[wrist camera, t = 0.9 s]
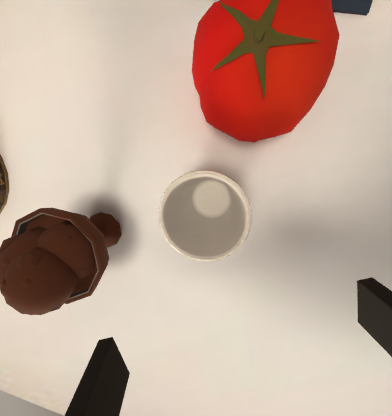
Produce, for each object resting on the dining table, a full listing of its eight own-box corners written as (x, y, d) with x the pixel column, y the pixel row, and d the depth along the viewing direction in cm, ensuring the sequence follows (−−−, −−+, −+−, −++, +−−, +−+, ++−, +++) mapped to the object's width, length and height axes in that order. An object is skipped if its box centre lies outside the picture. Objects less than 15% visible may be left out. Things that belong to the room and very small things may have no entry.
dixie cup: (247, 223, 28) (257, 257, 18) (187, 231, 30) (168, 266, 20) (238, 161, 26) (245, 162, 17) (175, 172, 28) (148, 179, 18)
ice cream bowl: (130, 190, 29) (36, 219, 15) (143, 262, 32) (73, 348, 17) (64, 197, 31) (-77, 229, 17) (81, 264, 33) (-30, 345, 19)
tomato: (217, 7, 23) (209, -113, 13) (328, 34, 22) (414, -73, 12) (186, 130, 26) (160, 111, 16) (281, 157, 26) (316, 155, 15)
